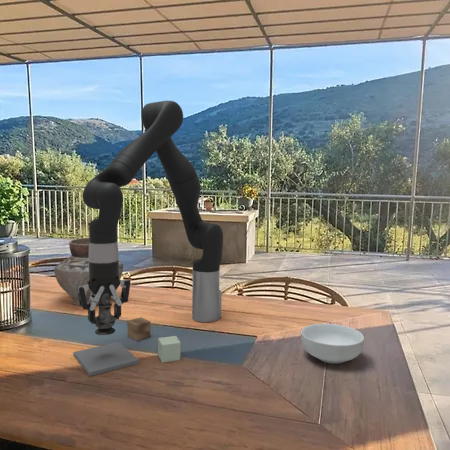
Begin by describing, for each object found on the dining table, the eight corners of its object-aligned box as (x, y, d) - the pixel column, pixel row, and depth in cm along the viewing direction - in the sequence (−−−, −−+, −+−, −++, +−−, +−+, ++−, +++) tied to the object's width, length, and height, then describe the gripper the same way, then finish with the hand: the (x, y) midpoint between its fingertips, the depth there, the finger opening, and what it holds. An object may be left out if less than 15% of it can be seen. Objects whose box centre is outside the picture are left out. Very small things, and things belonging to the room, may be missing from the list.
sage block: (175, 352, 121) (175, 335, 121) (180, 360, 117) (180, 342, 116) (158, 355, 120) (158, 338, 119) (162, 362, 115) (162, 345, 114)
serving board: (119, 345, 125) (119, 341, 125) (138, 363, 114) (138, 359, 114) (73, 355, 118) (73, 352, 118) (89, 376, 107) (89, 372, 107)
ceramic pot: (113, 313, 152) (112, 247, 149) (43, 312, 152) (41, 245, 149) (130, 293, 177) (129, 235, 173) (70, 291, 177) (68, 234, 174)
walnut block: (141, 332, 136) (141, 317, 135) (150, 337, 132) (150, 321, 132) (127, 336, 132) (127, 320, 132) (136, 341, 129) (136, 325, 128)
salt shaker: (110, 336, 112) (109, 291, 110) (89, 334, 113) (88, 290, 111) (120, 328, 117) (119, 285, 116) (100, 326, 119) (99, 284, 117)
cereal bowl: (363, 350, 125) (365, 327, 124) (361, 376, 110) (363, 349, 109) (304, 341, 131) (305, 319, 130) (295, 365, 115) (296, 339, 114)
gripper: (124, 253, 120) (125, 312, 122) (71, 259, 111) (73, 321, 114) (135, 258, 114) (135, 320, 116) (80, 264, 105) (81, 330, 108)
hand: (104, 320), depth 115 cm, fingers closed on salt shaker, 6 cm apart
